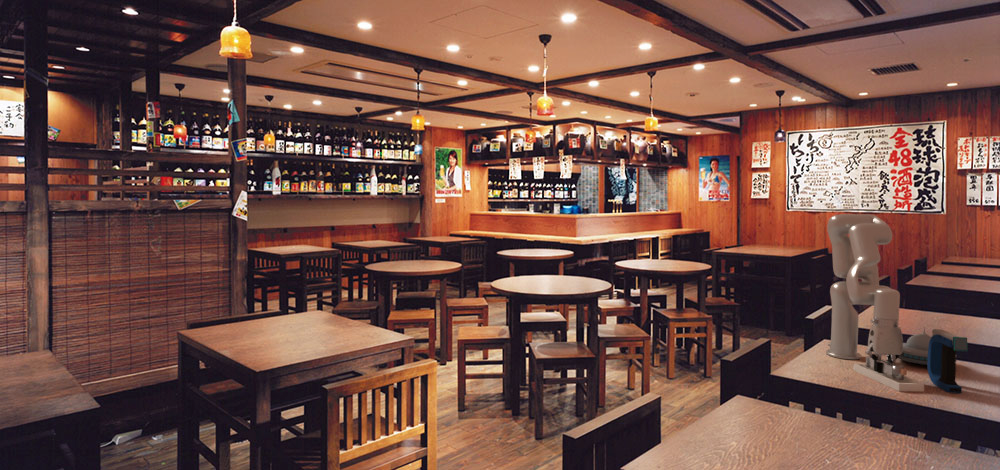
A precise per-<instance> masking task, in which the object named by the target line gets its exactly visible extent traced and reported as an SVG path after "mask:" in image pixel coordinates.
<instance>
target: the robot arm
mask: <svg viewBox="0 0 1000 470" xmlns="http://www.w3.org/2000/svg"><path fill="white" fill-rule="evenodd" d="M826 230H827V234H828V238H829V240H830V243H831V250H832V251H831V252H832V253H831V254H832V268H833V273H834V276H835V277H837V278H840V279H845V281H836V282H835V283H832V285H831V286H830V287H829V288H830V289H829V294H830V302H831V329H830V332H831V333H830V342H828V343H827V346H829V349H826V350H825V351H826V352H825V354H826V355H828V356H830V357H834V358H836V359H837V358H838V359H842V360H860V359H862V354H861V353H858V343H859V342H858V340H859V337H858V336H859V321H860V320H859V319H860V317H859V313H858V311H857V310H856V309H855V307H854V306H856V305H860V306H861V305H862V306H863V305H865V306H873V315H872V316H873V317H872V319H870V323H871V324H872V325H871V326H870V330H869V332H868V333H869V334H868V339H867V348H866V349H865V352H864V354H866V356H870V357H871V358H872V359H873V360H874V371H876V372H878V373H882V362H881V359H882V357H883V355H885V356H886V359H885V360H886V361H888V362H891V363H893V364H895V363H896V361H897V359H899V358H898V357H900V356H901V355H903V354H904V353H903V343H904V338H903V332H902V328H901V327H900V326H899V322H900V321H899V318H900V304H901V303H900V300H901V294H900V292H899V290H896V289H894V288H893V289H892V288H891V287H889V286H886V285H880V278H879V277H880V276H879V267H878V264H879V263H880V262H881V259H882V258H881V254H880V252H879V246H878V245H880V246H881V245H888V244H890V243H891V242H892V240H893V231H892V229H891V227H890V226H889V224H888V223H886V222H885V221H884V220H882V219H881V218H880V217H879V216H877V215H875V214H869V213H865V214H864V213H860V214H859V213H840V214H834V215H832V216H831V217H829V218H828V221H827V229H826ZM859 280H861V281H859ZM853 305H854V306H853Z"/></svg>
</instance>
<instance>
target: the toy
mask: <svg viewBox="0 0 1000 470" xmlns="http://www.w3.org/2000/svg"><path fill="white" fill-rule="evenodd" d="M925 328H926V327H925V326H924V327H923V332H922V333H917V334H914V335H911V336H910V337H908V338H907V341H906V342H903V353H904V354H903V355H901V356H900V357H898V358H897V359H899V360H902V361H905V362H909V363H913V364H919V365H924V366H925V365H926V366H927V361H928V347H929V341H930V339H931V337H932V335H929V334H927V333H926V329H925ZM957 357H958V355H957V354H956V356H955V363H956V362H957V359H956V358H957Z"/></svg>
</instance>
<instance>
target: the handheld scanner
mask: <svg viewBox="0 0 1000 470" xmlns="http://www.w3.org/2000/svg"><path fill="white" fill-rule="evenodd" d="M931 333H932V335H931V339H930V341H929V347H928V361H927V365H926V366H927V373H928V377H929V379H930V381H931V382H932V384H933V385H934V386H936V387H937V388H939V389H941V390H942V391H945V392H946V393H948V394H950V393H952V394H962V386H961V385H959V384H958V383H957V380H956V374H957V373H956V371H957V366H956V365H957V363H956V362H955V359H956V358H955V356H956V355H957V352H968V337H965V336H962V337H961V336H958V335H956V334H954V333H951V332H948V331H946V330H944V329H937V328H933V329H932V331H931Z"/></svg>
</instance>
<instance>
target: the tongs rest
mask: <svg viewBox="0 0 1000 470" xmlns="http://www.w3.org/2000/svg"><path fill="white" fill-rule="evenodd" d="M852 368H853V371H854V372H856V373H859V374H860V375H863V376H865V377H867V378H869V379H872V380H873V381H875V382H878V383H880V384H882V385H884V386H887V387H889V388H891V389H893V390H895V391H896V392H924V391H925V383H923V382H920V381H918V380H916V379H913V378H912V377H908V376H907V375H904V380H896V379H893V378H891V377H889V376H886V375H884V374H882V373H878V372H876V371H874V370H873V369H870V368H868V367H866V363H853V366H852Z"/></svg>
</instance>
